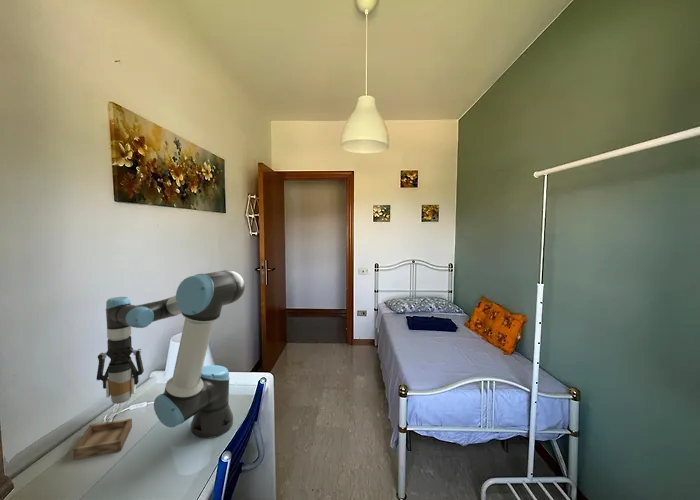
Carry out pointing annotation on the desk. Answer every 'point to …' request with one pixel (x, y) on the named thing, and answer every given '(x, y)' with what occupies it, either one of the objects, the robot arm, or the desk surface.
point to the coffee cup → (120, 381)
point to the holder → (103, 438)
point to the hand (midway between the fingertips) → (121, 393)
